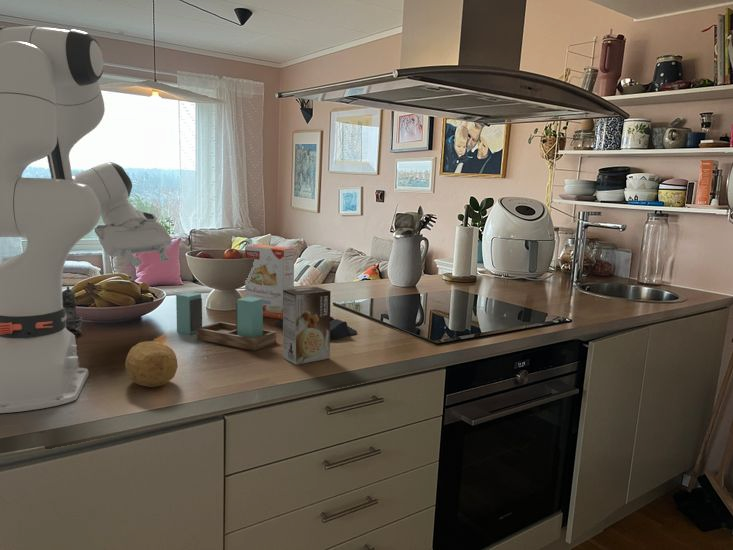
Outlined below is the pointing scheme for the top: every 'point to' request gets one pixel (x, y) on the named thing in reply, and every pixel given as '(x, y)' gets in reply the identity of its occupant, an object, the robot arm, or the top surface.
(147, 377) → the potato
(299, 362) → the grey cardboard box
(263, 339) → the wooden compartment tray
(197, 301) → the tall teal pillar
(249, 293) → the cracker box
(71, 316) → the figurine
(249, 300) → the turquoise rectangular block
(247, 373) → the top surface
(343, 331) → the dark slate chunk
